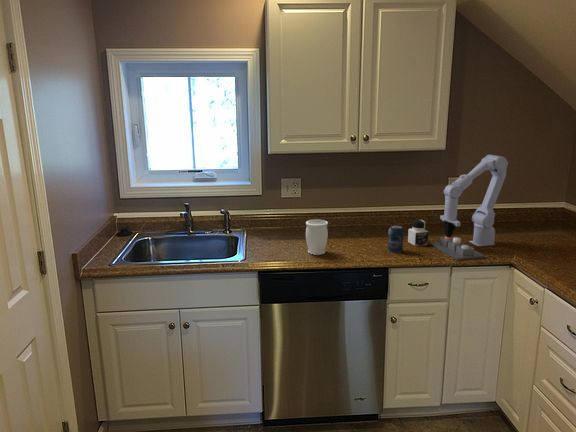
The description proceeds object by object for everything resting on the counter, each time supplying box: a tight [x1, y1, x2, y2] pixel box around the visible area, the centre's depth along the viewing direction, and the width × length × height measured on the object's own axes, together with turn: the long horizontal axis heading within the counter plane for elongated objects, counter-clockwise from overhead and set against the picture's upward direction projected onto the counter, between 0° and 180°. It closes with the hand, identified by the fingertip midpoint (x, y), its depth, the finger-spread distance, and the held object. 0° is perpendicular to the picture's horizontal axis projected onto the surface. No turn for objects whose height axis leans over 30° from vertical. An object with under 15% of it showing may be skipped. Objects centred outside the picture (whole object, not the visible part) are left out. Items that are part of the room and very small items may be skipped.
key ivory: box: [453, 237, 462, 245], centre depth 213 cm, size 4×4×3 cm
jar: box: [305, 219, 329, 256], centre depth 212 cm, size 11×10×15 cm
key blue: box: [461, 244, 471, 249], centre depth 206 cm, size 4×4×3 cm
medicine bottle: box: [407, 219, 429, 247], centre depth 224 cm, size 7×7×12 cm
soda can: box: [387, 224, 404, 254], centre depth 213 cm, size 7×7×12 cm
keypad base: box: [429, 236, 486, 261], centre depth 213 cm, size 14×24×4 cm, turn 12°
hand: (448, 236), depth 219 cm, fingers closed, pressing on key red
